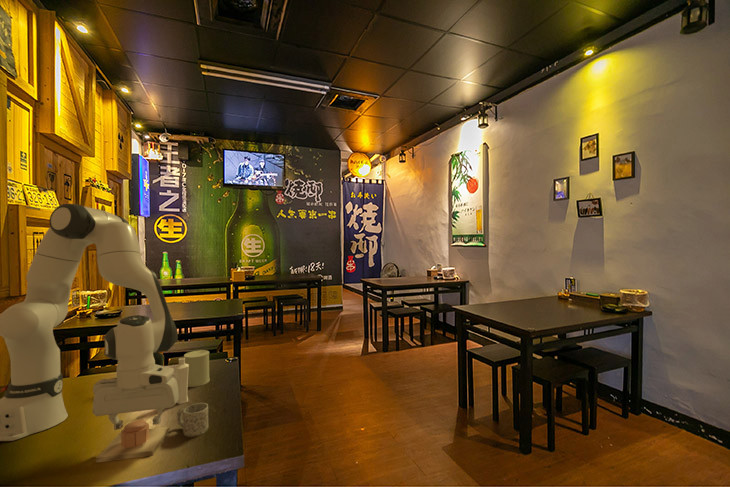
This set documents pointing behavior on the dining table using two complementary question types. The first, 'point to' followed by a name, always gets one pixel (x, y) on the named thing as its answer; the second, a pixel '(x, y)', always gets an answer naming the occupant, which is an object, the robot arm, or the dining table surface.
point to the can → (197, 367)
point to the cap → (135, 434)
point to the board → (146, 449)
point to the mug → (194, 419)
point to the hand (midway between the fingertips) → (137, 426)
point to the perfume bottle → (182, 380)
